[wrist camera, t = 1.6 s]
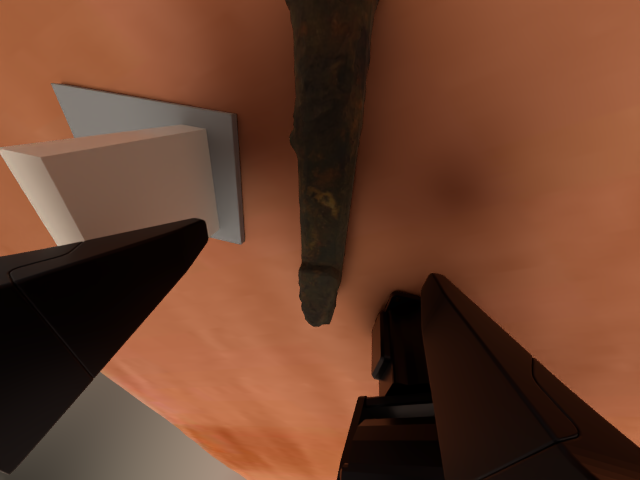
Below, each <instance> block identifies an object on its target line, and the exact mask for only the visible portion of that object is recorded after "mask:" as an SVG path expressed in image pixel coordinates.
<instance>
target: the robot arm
mask: <svg viewBox="0 0 640 480" xmlns="http://www.w3.org/2000/svg"><path fill="white" fill-rule="evenodd" d="M207 242H208V231H207V225H206V222H205V221H204V220H203V219H198V218H190V219H186V220H181V221H176V222H171V223H167V224H162V225H157V226H152V227H147V228H143V229H138V230H133V231H128V232H124V233H119V234H114V235H109V236H104V237H100V238H95V239H90V240H85V241H84V242H82V241H80V242H76V243H71V244H66V245H61V246H56V247H51V248H46V249H41V250H35V251H30V252H24V253H19V254H13V255H7V256H2V257H0V471H1V472H3V473H6V474H11V473H12V472H13V471H14V470H15V469H16V468H17V467H18V466H19V465H20V464H21V462H22V461H23V460H24V459H25V458H26V457H27V456H28V454H29V453H30V452H31V451H32V450H33V449H34V448H35V446H36V445H37V444H38V443H39V442H40V441H41V439H42V438H43V437H44V436H45V435H46V434H47V433H48V431H49V430H50V429H51V428H52V426H54V424H55V423H56V422H57V421H58V420H59V419H60V418H61V416H62V415H63V414H64V413H65V412H66V410H67V409H68V408H69V407H70V406H71V405H72V404H73V403H74V401H75V400H76V399H77V398H78V397H79V396H80V394H81V393H82V392H83V391H84V390H85V388H87V386H88V385H89V384H90V383H91V382H92V381H93V378H95V377H96V376H97V374H98V373H99V372H100V371H101V370H102V369H103V368H104V366H105V365H106V364H107V363H108V362H109V361H110V360H111V358H112V357H113V356H114V355H115V354H116V353H117V351H118V350H119V349H120V348H121V347H122V346H123V345H124V343H125V342H126V341H127V340H128V339H129V338H130V336H131V335H132V334H133V333H134V332H135V331H136V330H137V328H138V327H139V326H140V325H141V324H142V323H143V322H144V320H145V319H146V318H147V317H148V316H149V315H150V313H151V312H152V311H153V310H154V309H155V308H156V307H157V305H158V304H159V303H160V302H161V301H162V300H163V298H164V297H165V296H166V295H167V294H168V293H169V292H170V290H171V289H172V288H173V287H174V286H175V285H176V283H177V282H178V281H179V280H180V279H181V278H182V277H183V275H184V274H185V273H186V272H187V270H188V269H189V268H190V266H191V265H192V264H193V262H194V261H195V259H196V258H197V256H198V255H199V254H200V252H201V251H202V249H203V248H204V246H205V245H206V244H207ZM397 298H398V299H397ZM372 376H373V378H374V379H377V380H379V396H377V397H367V396H360V397H358V400H357V403H356V407H355V411H354V414H353V418H352V422H351V425H350V429H349V432H348V436H347V440H346V443H345V447H344V451H343V454H342V458H341V462H340V467H339V471H338V476H337V480H640V448H639V447H638V446H637V445H636V444H634V443H633V442H632V441H631V440H630V439H628V438H627V437H626V436H625V435H624V434H622V433H621V432H620V431H619V430H618V429H616V428H615V427H614V426H613V425H612V424H610V423H609V422H608V421H607V420H605V419H604V418H603V417H602V416H601V415H599V414H598V413H597V412H596V411H595V410H594V409H592V408H591V407H590V406H589V405H588V404H586V403H585V402H584V401H583V400H582V399H580V398H579V397H578V396H577V395H576V394H575V393H573V392H572V391H571V390H570V389H569V388H568V387H566V386H565V385H564V384H563V383H562V382H561V381H560V380H559V379H557V378H556V377H555V376H554V375H553V374H552V373H551V372H549V371H548V370H547V369H546V368H545V367H544V366H543V365H542V364H541V363H540V362H539V361H537V360H536V359H535V358H532V355H531V354H530V353H529V352H527V351H526V350H525V349H524V348H523V347H522V346H521V345H520V344H519V343H518V342H516V341H515V340H514V339H513V338H512V337H511V336H510V335H509V334H508V333H506V332H505V331H504V330H503V329H502V328H501V327H500V326H499V325H498V324H497V323H495V322H494V321H493V320H492V319H491V318H490V317H489V316H488V315H487V314H486V313H484V312H483V311H482V310H481V309H480V308H479V307H478V306H477V305H476V304H475V303H473V302H472V301H471V300H470V299H469V298H468V297H467V296H466V295H465V294H464V293H462V292H461V291H460V290H459V289H458V288H457V287H456V286H455V285H454V284H452V283H451V282H450V281H449V280H448V279H447V278H446V277H445V276H444V275H441V274H437V273H430V274H429V276H428V278H427V280H426V281H425V283H424V285H423V287H422V290H421V297H420V296H415V295H411V294H407V293H403V292H398V291H396V292H393V293H392V294H391V296H390V298H389V300H388V303H387V305H386V307H385V310H384V311H381V312H380V313H379V315H378V317H377V320H376V322H375V325H374V327H373V329H372Z"/></svg>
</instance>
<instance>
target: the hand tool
mask: <svg viewBox="0 0 640 480" xmlns="http://www.w3.org/2000/svg"><path fill="white" fill-rule="evenodd" d="M285 1H286V4H287V6H288V8H289V10H290V17H291V23H292V27H293V36H294V73H295V90H296V100H295V108H294V114H293V117H294V124H293V125H294V129H293V130H292V132H291V134H290V144H291V146H292V148H293V149H294V150H295V152H296V154H297V158H298V175H299V204H300V224H301V244H302V255H301V257H302V264H301V267H300V269H299V275H298V276H299V286H300V294H299V297H300V300H301V302H302V305H301V307H302V311H303V313H304V315H305V319H306V320H307V322H308V323H309V324H310V325H312V326H313V327H316V326H318V327H319V326H321V325H322V324H330V322H331V319H332V316H333V313H334V309H335V307H336V297H337V294H338V293H337V291H338V288H339V286H340V282H341V277H342V268H343V261H344V255H345V243H346V236H347V229H348V222H349V214H350V207H351V199H352V191H353V183H354V175H355V167H356V161H357V153H358V146H359V139H360V134H361V130H362V124H363V113H364V102H365V93H366V79H367V72H368V69H369V62H370V44H371V34H372V27H373V20H374V14H375V11H376V8H377V5H378V1H379V0H285Z"/></svg>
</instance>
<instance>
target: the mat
mask: <svg viewBox="0 0 640 480" xmlns="http://www.w3.org/2000/svg"><path fill="white" fill-rule="evenodd" d="M51 85H52V87H53V89H54V92H55V94H56V96H57V99H58V101H59V103H60V106H61V108H62V110H63V113H64V115H65V117H66V119H67V122H68V124H69V126H70V129H71V131H72V133H73V136H74V138H79V137H87V136H95V135H103V134H111V133H119V132H126V131H134V130H142V129H150V128H158V127H166V126H174V125H187V126H193V127H198V128H204V129H206V132H207V140H208V147H209V154H210V162H211V169H212V177H213V184H214V192H215V199H216V206H217V214H218V221H219V230H218V231H217V232H216V233H214V234H213V235H212V236H211V238H215V239H219V240H223V241H228V242H232V243H236V244H240V245H241V244H242V243H243V242H244V241H245V236H244V221H243V205H242V190H241V175H240V159H239V144H238V129H237V114H234V113H228V112H222V111H216V110H210V109H205V108H199V107H193V106H187V105H181V104H176V103H170V102H164V101H158V100H153V99H147V98H141V97H135V96H129V95H124V94H118V93H112V92H106V91H100V90H95V89H89V88H83V87H77V86H71V85H66V84H55V83H51Z"/></svg>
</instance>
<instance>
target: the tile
mask: <svg viewBox="0 0 640 480" xmlns="http://www.w3.org/2000/svg"><path fill="white" fill-rule="evenodd" d="M0 154H1V156H2V157H3V159H4V161H5V162H6V164H7V165H8V167H9V169H10V170H11V172H12V173H13V175H14V177H15V178H16V180H17V182H18V183H19V185H20V186H21V188H22V190H23V191H24V193H25V194H26V196H27V198H28V199H29V201H30V202H31V204H32V206H33V207H34V209H35V210H36V212H37V214H38V215H39V217H40V218H41V220H42V222H43V223H44V225H45V226H46V228H47V230H48V231H49V233H50V234H51V236H52V238H53V239H54V241H55V242H56V244H57V246H61V245H66V244H71V243H76V242H80V241H82V242H84V241H85V240H90V239H95V238H100V237H104V236H109V235H114V234H119V233H124V232H128V231H133V230H138V229H143V228H147V227H152V226H157V225H162V224H167V223H171V222H176V221H181V220H186V219H190V218H198V219H203V220H204V221H205V222H206V225H207V231H208V238H209V237H211V236H212V235H213V234H214V233H216V232H217V231H218V230H219V221H218V214H217V206H216V199H215V192H214V184H213V177H212V169H211V162H210V154H209V147H208V140H207V132H206V129H204V128H198V127H193V126H187V125H174V126H166V127H158V128H150V129H142V130H134V131H126V132H119V133H111V134H103V135H95V136H87V137H79V138H71V139H63V140H55V141H48V142H40V143H32V144H24V145H16V146H8V147H0Z"/></svg>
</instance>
